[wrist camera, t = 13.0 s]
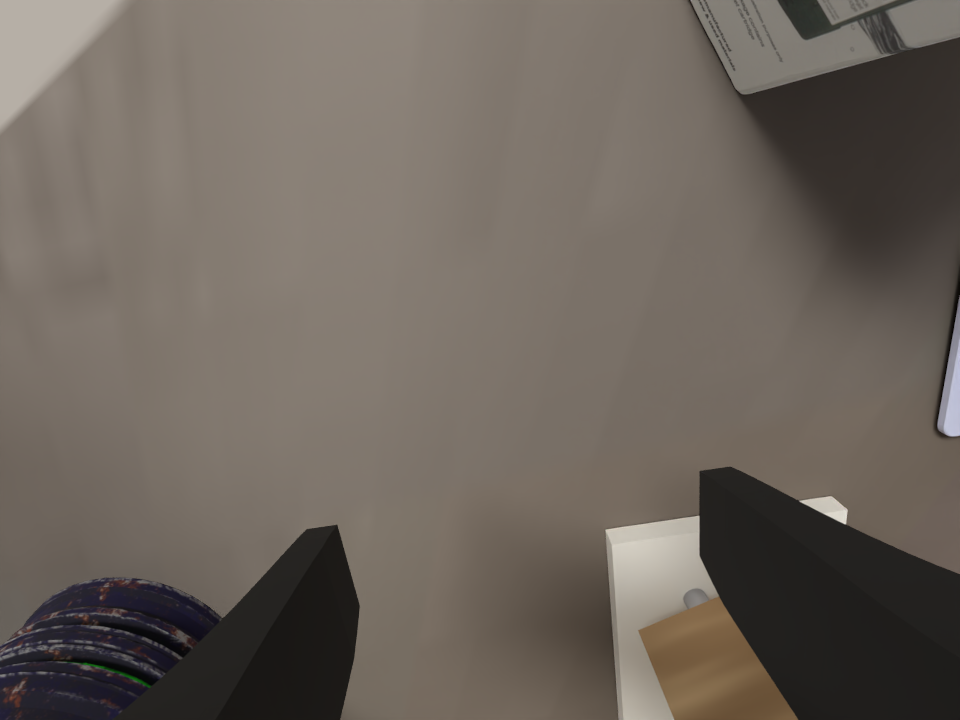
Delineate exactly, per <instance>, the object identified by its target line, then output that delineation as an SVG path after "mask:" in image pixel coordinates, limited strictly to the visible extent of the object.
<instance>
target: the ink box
mask: <svg viewBox="0 0 960 720" xmlns="http://www.w3.org/2000/svg"><path fill="white" fill-rule="evenodd" d="M690 1H691V3H692V5H693V7H694V9H695V11H696V13H697V15H698V17H699V19H700V21H701V23H702V25H703V27H704V29H705V31H706V33H707V35H708V37H709V38H710V40H711V42H712V44H713V46H714V48H715V50H716V52H717V53H718V55H719V57H720V59H721V61H722V63H723V65H724V67H725V69H726V71H727V73H728V75H729V77H730V78H731V80H732V83H733V85H734V87H735V89H736V90H737V91H739V92H740V93H741V94H745V95H746V94H752V93H755V92H759V91H762V90H766V89H770V88H774V87H777V86H781V85H784V84H788V83H791V82H795V81H798V80H802V79H806V78H809V77H813V76H817V75H820V74H824V73H828V72H831V71H835V70H839V69H842V68H846V67H850V66H853V65H857V64H861V63H865V62H868V61H872V60H876V59H879V58H883V57H887V56H890V55H894V54H897V53H901V52H904V51H908V50H912V49H916V48H920V47H924V46H927V45H931V44H935V43H939V42H943V41H947V40H951V39H955V38H958V37H960V0H690Z"/></svg>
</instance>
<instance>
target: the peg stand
mask: <svg viewBox="0 0 960 720" xmlns="http://www.w3.org/2000/svg"><path fill="white" fill-rule="evenodd" d="M800 502H802V503H804V504H806V505H808V506H809V507H811V508H813V509H815V510H817V511H819V512H821V513H823V514H825V515H827V516H829V517H831V518H833V519H835V520H837V521H839V522H841V523H843V524H845V525H846V519H847V509H846V508H845V507H844V506H842V505H841V504H840V503H839V502H838V501H837V500H835V499H834V498H833V497H832V496H829V497H822V498H815V499H808V500H802V501H800ZM605 532H606V546H607V560H608V574H609V589H610V603H611V617H612V631H613V646H614V660H615V674H616V688H617V703H618V717H619V720H674V718H673V715H672V713H671V710H670V708H669V706H668V703H667V701H666V698H665V696H664V693H663V691H662V688H661V686H660V683H659V681H658V678H657V676H656V673H655V671H654V669H653V666H652V664H651V661H650V659H649V656H648V654H647V651H646V649H645V646H644V644H643V641H642V639H641V637H640V634H639V632H638V630H640V629H642V628H645V627H647V626H650V625H652V624H654V623H657V622H659V621H661V620H664V619H666V618H669V617H671V616H673V615H676V614H678V613H681V612H683V611H685V610H688V609H690V608H692V607H695V606H697V605H700V604H702V603H704V602H707V601H709V600H712V599H714V598H716V597H719V595H718V593H717V591H716V589H715V587H714V585H713V583H712V581H711V579H710V577H709V575H708V573H707V571H706V569H705V566H704V564H703V562H702V560H701V558H700V556H699V516H694V517H687V518H680V519H673V520H667V521H660V522H653V523H646V524H640V525H633V526H626V527H619V528H613V529H606V530H605Z"/></svg>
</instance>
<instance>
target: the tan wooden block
mask: <svg viewBox="0 0 960 720" xmlns="http://www.w3.org/2000/svg"><path fill="white" fill-rule="evenodd" d="M638 632H639V634H640V637H641V639H642V641H643V644H644V646H645V649H646V651H647V654H648V656H649V659H650V661H651V664H652V666H653V669H654V671H655V673H656V676H657V678H658V681H659V683H660V686H661V688H662V691H663V693H664V696H665V698H666V701H667V703H668V706H669V708H670V710H671V713H672V715H673V718H674V720H798V719H797V717H796V716H795V714H794V712H793V711H792V709H791V708H790V706H789V705H788V703H787V702H786V700H785V699H784V697H783V696H782V694H781V693H780V691H779V690H778V688H777V687H776V685H775V683H774V682H773V680H772V679H771V677H770V676H769V674H768V673H767V671H766V670H765V668H764V667H763V665H762V664H761V662H760V661H759V659H758V657H757V656H756V654H755V653H754V651H753V650H752V648H751V647H750V645H749V644H748V642H747V641H746V639H745V638H744V636H743V634H742V633H741V631H740V630H739V628H738V627H737V625H736V624H735V622H734V620H733V619H732V617H731V616H730V614H729V613H728V611H727V609H726V608H725V606H724V605H723V603H722V601H721V599H720V597H716V598H714V599H712V600H709V601H707V602H704V603H702V604H700V605H697V606H695V607H692V608H690V609H688V610H685V611H683V612H681V613H678V614H676V615H673V616H671V617H669V618H666V619H664V620H661V621H659V622H657V623H654V624H652V625H650V626H647V627H645V628H642V629H640V630H638Z"/></svg>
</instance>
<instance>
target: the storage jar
mask: <svg viewBox="0 0 960 720" xmlns="http://www.w3.org/2000/svg"><path fill="white" fill-rule="evenodd" d="M221 620H222V618H221V617H220V616H219V615H218V614H216V613H215V612H214V611H213V610H212V609H210V608H209V607H208V606H207V605H205V604H204V603H202V602H201V601H199V600H197V599H196V598H194V597H193V596H190V595H188V594H186V593H184V592H182V591H180V590H178V589H175V588H172V587H169V586H166V585H164V584H161V583H156V582H152V581H147V580H142V579H133V578H102V579H96V580H89V581H85V582H82V583H78V584H75V585H72V586H70V587H68V588H65V589H63V590H61V591H59V592H57V593H56V594H54V595H53V596H52V597H50V598H49V599H47V600H46V601H45V602H44V603H43V604H42V605H41V606H40V607H39V608H38V609H37V610H36V611H35V612H34V614H33V615H32V616H31V617H30V618H29V619H28V620H27V621H26V623H25V624H24V626H23V627H22V628H21V629H20V630H18V631H17V632H15V633H14V635H13V636H12V637H11V638H10V639H9V640H8V641H7V642H6V643H4V644H3V645H1V646H0V720H112V719H114V718H115V717H116V716H117V715H118V714H120V713H121V712H122V711H123V710H124V709H126V708H127V707H128V706H129V705H130V704H132V703H133V702H134V701H135V700H136V699H137V698H138V697H140V696H141V695H142V694H143V693H144V692H145V691H147V690H148V689H149V688H150V687H151V686H152V685H154V684H155V683H156V682H157V681H158V680H159V679H160V678H162V677H163V676H164V675H165V674H166V673H167V672H168V671H169V670H170V669H172V668H173V667H174V666H175V665H176V664H177V663H178V662H179V661H180V660H181V659H182V658H183V657H184V656H186V655H187V654H188V653H189V652H190V651H191V650H192V649H193V648H194V647H195V646H196V645H197V644H198V643H199V642H200V641H201V640H202V639H203V638H204V637H205V636H206V635H207V634H208V633H209V632H210V631H211V630H212V629H213V628H214V627H215V626H216V625H217V624H218V623H219V622H220V621H221Z"/></svg>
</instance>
